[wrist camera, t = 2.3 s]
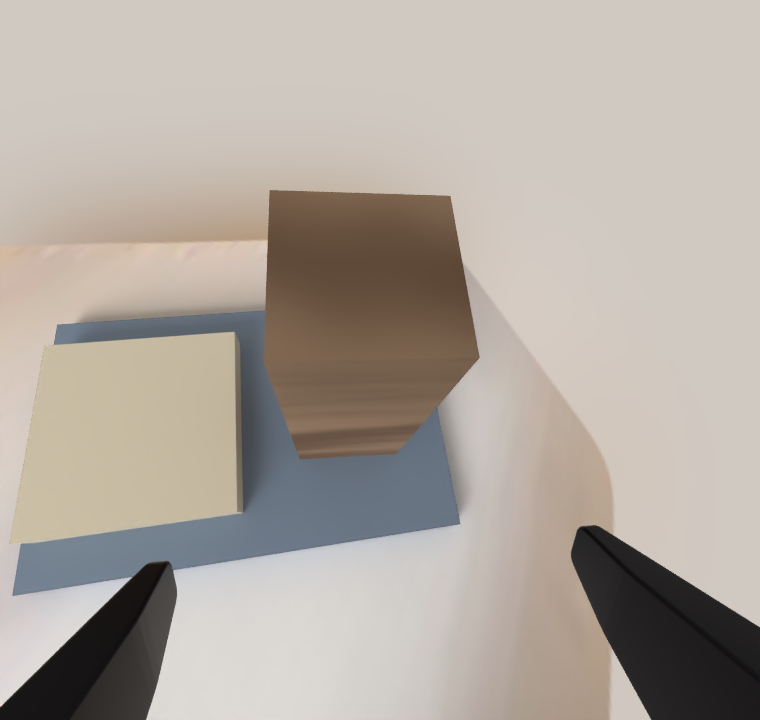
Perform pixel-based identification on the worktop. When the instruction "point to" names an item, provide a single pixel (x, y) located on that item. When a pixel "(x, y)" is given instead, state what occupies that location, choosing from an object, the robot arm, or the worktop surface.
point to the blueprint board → (269, 482)
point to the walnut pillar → (363, 317)
